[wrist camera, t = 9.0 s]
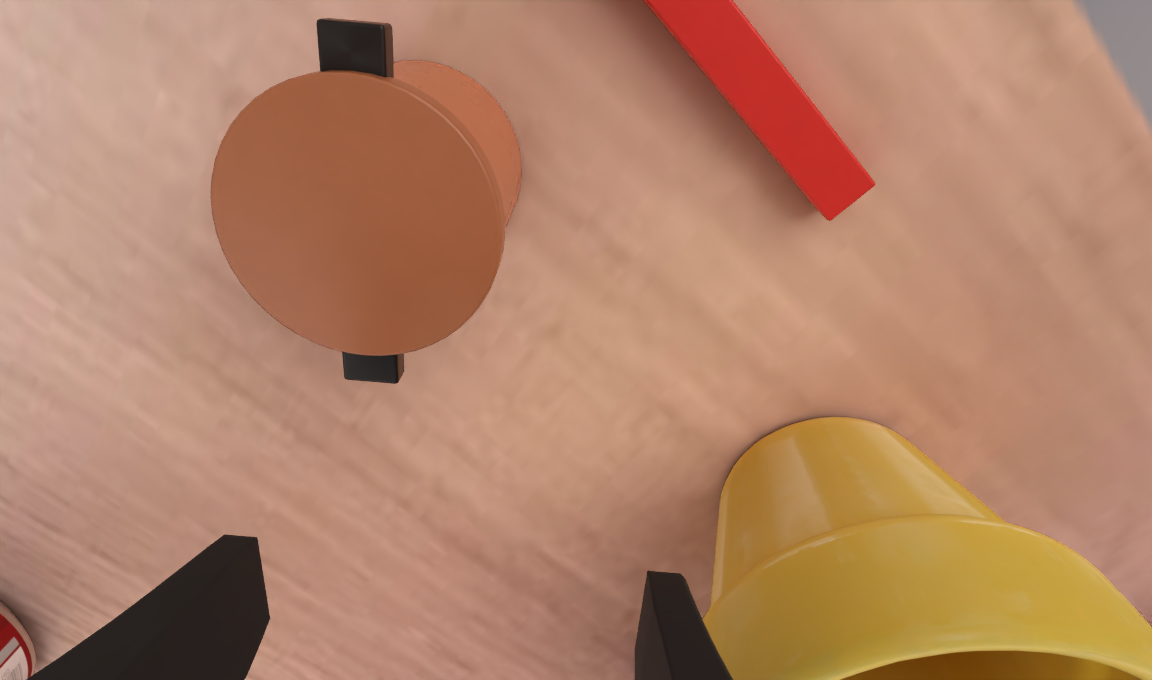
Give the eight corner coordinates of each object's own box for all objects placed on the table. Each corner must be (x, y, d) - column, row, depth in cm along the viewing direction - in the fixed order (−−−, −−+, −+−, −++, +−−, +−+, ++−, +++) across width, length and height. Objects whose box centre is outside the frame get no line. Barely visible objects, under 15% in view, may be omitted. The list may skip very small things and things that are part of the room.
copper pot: (523, 300, 20) (496, 400, 15) (328, 283, 20) (236, 378, 15) (536, 25, 17) (508, 36, 12) (305, 6, 17) (177, 7, 12)
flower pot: (753, 656, 26) (831, 991, 17) (599, 465, 22) (596, 764, 14) (1032, 539, 23) (1297, 869, 14) (905, 299, 20) (1153, 542, 11)
